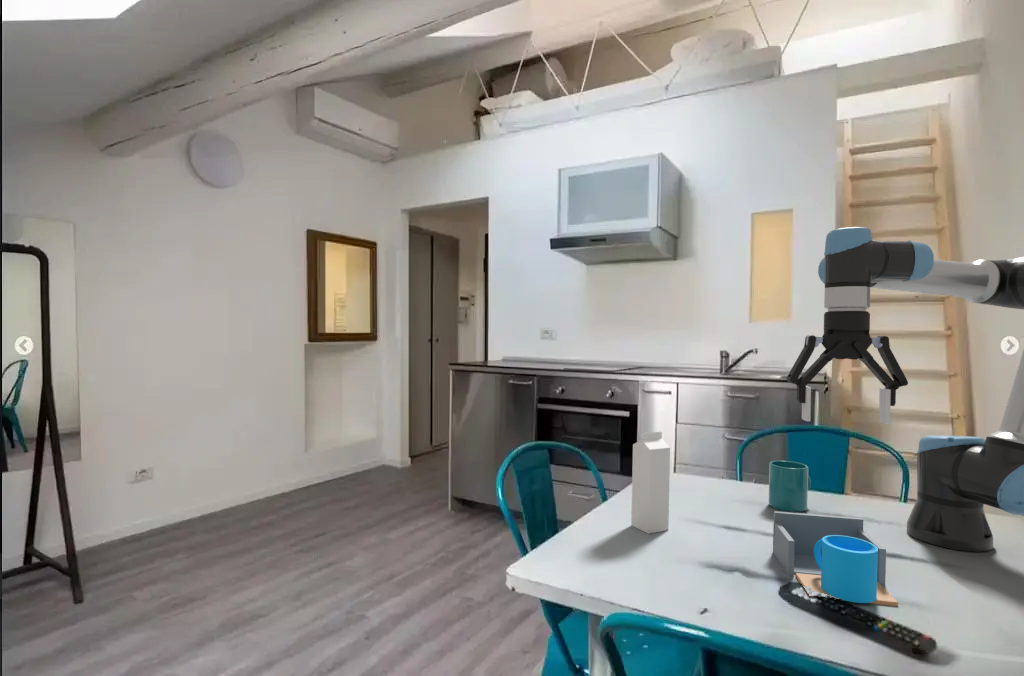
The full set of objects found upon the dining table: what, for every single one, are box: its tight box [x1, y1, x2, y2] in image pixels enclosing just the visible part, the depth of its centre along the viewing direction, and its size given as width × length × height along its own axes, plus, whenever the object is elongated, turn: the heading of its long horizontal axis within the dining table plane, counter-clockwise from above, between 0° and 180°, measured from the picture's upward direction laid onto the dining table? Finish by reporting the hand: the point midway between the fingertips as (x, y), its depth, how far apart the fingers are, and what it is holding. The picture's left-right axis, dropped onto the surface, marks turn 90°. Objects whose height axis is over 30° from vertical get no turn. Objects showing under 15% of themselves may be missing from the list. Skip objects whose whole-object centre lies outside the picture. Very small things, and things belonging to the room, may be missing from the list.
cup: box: [768, 460, 812, 513], centre depth 145 cm, size 9×12×11 cm
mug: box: [814, 535, 878, 604], centre depth 96 cm, size 12×8×8 cm
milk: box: [630, 431, 671, 534], centre depth 127 cm, size 6×6×22 cm
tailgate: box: [795, 573, 899, 607], centre depth 96 cm, size 13×1×8 cm
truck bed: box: [772, 510, 887, 586], centre depth 106 cm, size 16×11×9 cm
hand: (844, 421), depth 106 cm, fingers open, 13 cm apart
